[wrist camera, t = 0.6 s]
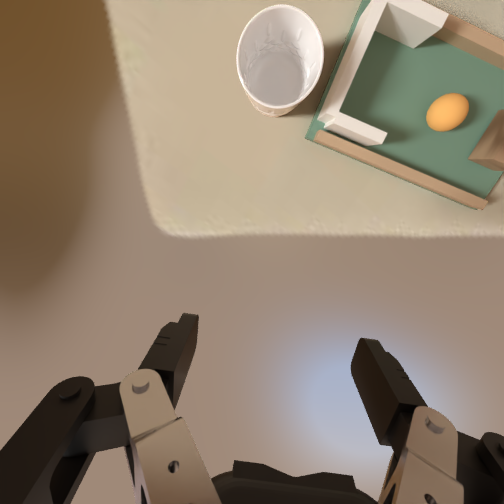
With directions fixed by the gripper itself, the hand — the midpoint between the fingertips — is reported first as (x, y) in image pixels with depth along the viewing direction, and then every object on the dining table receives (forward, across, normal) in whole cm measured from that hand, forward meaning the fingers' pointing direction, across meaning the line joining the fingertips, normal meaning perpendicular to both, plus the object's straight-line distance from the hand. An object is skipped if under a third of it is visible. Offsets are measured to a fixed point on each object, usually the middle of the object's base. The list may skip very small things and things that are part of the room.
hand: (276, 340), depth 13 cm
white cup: (+28, +2, -16) cm, 32 cm away
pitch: (+28, -18, -16) cm, 37 cm away
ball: (+25, -19, -16) cm, 35 cm away
